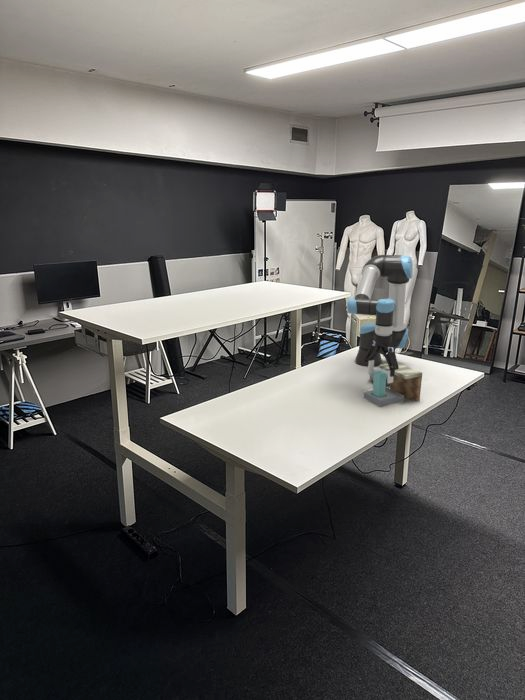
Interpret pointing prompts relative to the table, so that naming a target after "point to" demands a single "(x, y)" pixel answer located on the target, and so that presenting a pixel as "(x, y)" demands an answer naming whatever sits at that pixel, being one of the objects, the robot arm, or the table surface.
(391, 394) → the socket
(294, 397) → the table surface
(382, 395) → the peg
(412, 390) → the wood grain block
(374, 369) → the grey yarn spool
